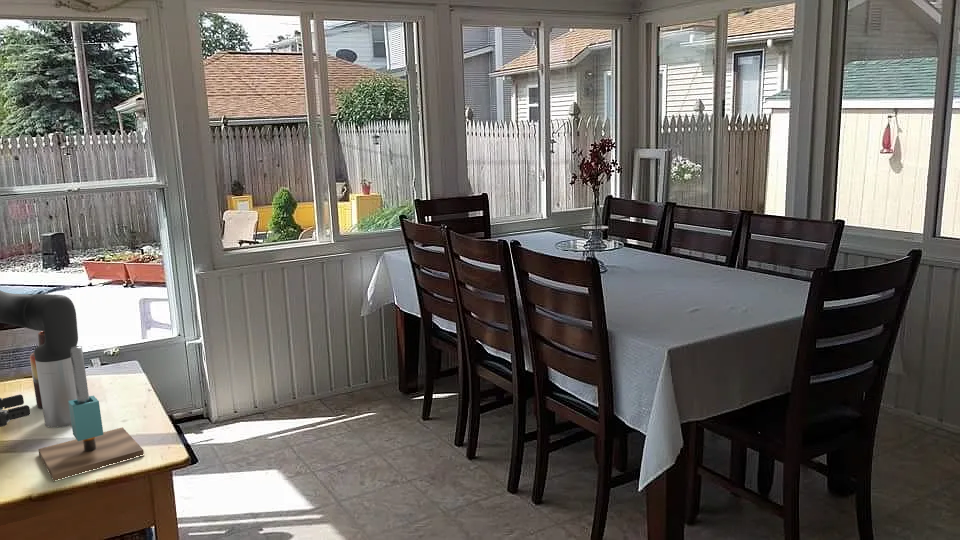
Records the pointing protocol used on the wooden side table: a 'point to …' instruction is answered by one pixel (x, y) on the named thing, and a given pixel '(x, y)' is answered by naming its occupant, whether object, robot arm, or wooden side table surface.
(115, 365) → the wooden side table surface
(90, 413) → the sleeve
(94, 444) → the pipe
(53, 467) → the stand board
